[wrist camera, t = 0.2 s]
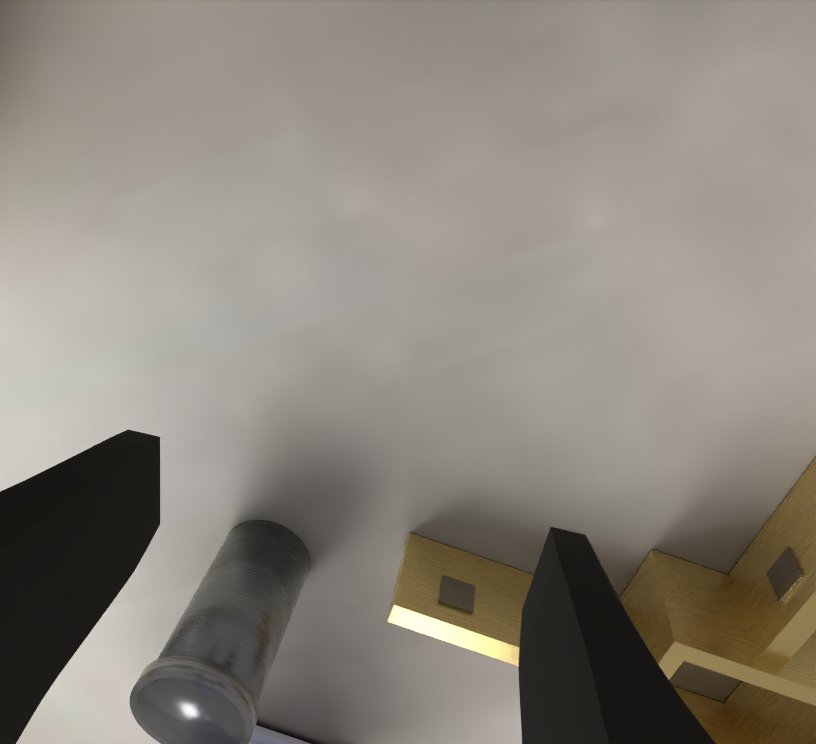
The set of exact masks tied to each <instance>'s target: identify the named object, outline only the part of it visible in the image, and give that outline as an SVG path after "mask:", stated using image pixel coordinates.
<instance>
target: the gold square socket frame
mask: <svg viewBox="0 0 816 744" xmlns="http://www.w3.org/2000/svg"><path fill="white" fill-rule="evenodd" d="M533 577H534V575H532V574H529V573H526V572H523V571H520V570H517V569H514V568H512V567H509V566H506V565H503V564H500V563H497V562H494V561H491V560H488V559H485V558H482V557H479V556H476V555H473V554H471V553H468V552H465V551H462V550H459V549H456V548H453V547H450V546H447V545H444V544H441V543H438V542H435V541H432V540H430V539H427V538H424V537H421V536H418V535H415V534H412V533H410V534H409V536H408V539H407V541H406V544H405V546H404V549H403V553H402V558H401V562H400V567H399V571H398V576H397V580H396V585H395V589H394V594H393V598H392V603H391V607H390V612H389V616H388V621H387V622H390V623H393V624H396V625H399V626H402V627H405V628H408V629H411V630H414V631H417V632H420V633H423V634H426V635H429V636H432V637H435V638H437V639H440V640H443V641H446V642H449V643H452V644H455V645H458V646H461V647H464V648H467V649H470V650H473V651H476V652H479V653H482V654H485V655H488V656H490V657H493V658H496V659H499V660H502V661H505V662H508V663H511V664H514V665H517V666H519V664H518V663H519V646H520V631H521V618H522V608H523V605H524V603H525V600H526V597H527V594H528V591H529V588H530V585H531V582H532V580H533ZM620 601H621V603H622V605H623V607H624V608H625V610H626V612H627V614H628V615H629V617H630V619H631V620H632V622H633V624H634V625H635V627H636V629H637V631H638V632H639V634H640V636H641V637H642V639H643V641H644V642H645V644H646V646H647V647H648V649H649V650H650V652H651V654H652V655H653V657H654V658H655V660H656V662H657V663H658V665H659V666H660V668H661V669H662V671H663V672H664V674H665V675H666V677H667V678H668V680H670V678H671V677H672V676H673V674H674V673H675V672H676V670H677V669H678V668H679V667H680V665H681V664H682V663H683V661H686V662H689V663H692V664H694V665H697V666H700V667H703V668H706V669H709V670H712V671H715V672H718V673H721V674H724V675H727V676H730V677H733V678H736V679H738V680H741V681H742V682H741V684H740V685H739V686H738V687H737V688H736V689H735V691H734V692H733V693H732V694H731V695H730V697H729V698H728V699H727V700H726V701H725V702H724V703H722V702H719V701H716V700H713V699H710V698H707V697H704V696H701V695H698V694H695V693H692V692H689V691H686V690H683V689H681V688H678V687H675V686H673V687H674V689H675V690H676V692H677V693H678V694H679V696H680V697H681V699H682V700H683V701H684V703H685V704H686V706H687V707H688V708H689V709H690V711H691V712H692V713H693V715H694V716H695V717H696V719H697V720H698V721H699V722H700V724H701V725H702V726H703V728H704V729H705V730H706V732H707V733H708V734H709V735H710V737H711V738H712V739H713V741H714V742H715V743H716V744H816V458H815V459H814V460H813V462H812V463H811V464H810V466H809V467H808V468H807V470H806V471H805V472H804V474H803V475H802V476H801V478H800V479H799V480H798V482H797V483H796V484H795V486H794V487H793V488H792V490H791V491H790V492H789V494H788V495H787V496H786V498H785V499H784V501H783V502H782V503H781V505H780V506H779V507H778V509H777V510H776V511H775V513H774V514H773V515H772V517H771V518H770V519H769V521H768V522H767V523H766V525H765V526H764V527H763V529H762V530H761V531H760V533H759V534H758V535H757V537H756V538H755V539H754V541H753V542H752V543H751V545H750V546H749V547H748V549H747V550H746V552H745V553H744V554H743V556H742V557H741V558H740V560H739V561H738V562H737V564H736V565H735V566H734V568H733V569H732V570H731V572H730V573H729V574H728V575H725V574H723V573H720V572H717V571H714V570H711V569H708V568H705V567H702V566H699V565H696V564H693V563H690V562H687V561H685V560H682V559H679V558H676V557H673V556H670V555H667V554H664V553H661V552H658V551H655V550H651V551H650V553H649V554H648V556H647V557H646V559H645V560H644V562H643V564H642V565H641V567H640V568H639V570H638V571H637V573H636V574H635V576H634V577H633V579H632V580H631V582H630V583H629V585H628V587H627V588H626V590H625V591H624V593H623V594H622V596H621V597H620Z"/></svg>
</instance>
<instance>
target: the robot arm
mask: <svg viewBox="0 0 816 744" xmlns="http://www.w3.org/2000/svg"><path fill="white" fill-rule="evenodd" d="M159 525H160V437H158V436H153V435H149V434H145V433H140V432H136V431H132V430H126V431H124V432H122V433H120V434H117V435H115V436H113V437H111V438H109V439H107V440H105V441H103V442H101V443H99V444H97V445H95V446H93V447H91V448H89V449H87V450H85V451H83V452H81V453H79V454H77V455H75V456H73V457H71V458H69V459H67V460H66V461H63V462H61V463H59V464H57V465H55V466H53V467H51V468H49V469H47V470H45V471H43V472H41V473H39V474H37V475H35V476H33V477H31V478H29V479H27V480H25V481H23V482H21V483H19V484H16V485H14V486H12V487H10V488H7V489H5V490H3V491H1V492H0V744H16V742H17V741H18V739H19V737H20V736H21V734H22V732H23V730H24V729H25V727H26V725H27V724H28V722H29V720H30V719H31V717H32V715H33V714H34V712H35V710H36V709H37V707H38V705H39V704H40V702H41V700H42V699H43V697H44V696H45V694H46V693H47V691H48V690H49V688H50V687H51V685H52V684H53V682H54V681H55V679H56V678H57V677H58V675H59V674H60V672H61V671H62V670H63V668H64V667H65V666H66V664H67V663H68V661H69V660H70V659H71V657H72V656H73V655H74V653H75V652H76V651H77V649H78V648H79V646H80V645H81V644H82V642H83V641H84V640H85V638H86V637H87V636H88V634H89V633H90V632H91V630H92V629H93V627H94V626H95V625H96V623H97V622H98V621H99V619H100V618H101V617H102V615H103V614H104V612H105V611H106V610H107V608H108V607H109V606H110V604H111V603H112V601H113V600H114V599H115V597H116V596H117V595H118V593H119V592H120V590H121V589H122V588H123V586H124V585H125V583H126V582H127V581H128V579H129V578H130V576H131V575H132V574H133V572H134V571H135V569H136V567H137V565H138V563H139V562H140V560H141V558H142V556H143V555H144V553H145V551H146V549H147V547H148V546H149V544H150V542H151V540H152V538H153V536H154V534H155V532H156V530H157V529H158V527H159ZM518 664H519V687H520V708H521V726H522V744H716V743H715V742H714V741H713V739H712V738H711V737H710V735H709V734H708V733H707V732H706V730H705V729H704V728H703V726H702V725H701V724H700V722H699V721H698V720H697V719H696V717H695V716H694V715H693V713H692V712H691V711H690V709H689V708H688V707H687V706H686V704H685V703H684V701H683V700H682V699H681V697H680V696H679V694H678V693H677V692H676V690H675V689H674V687H673V686H672V684H671V683H670V681H669V680H668V678H667V677H666V675H665V674H664V672H663V671H662V669H661V668H660V666H659V665H658V663H657V662H656V660H655V658H654V657H653V655H652V654H651V652H650V650H649V649H648V647H647V646H646V644H645V642H644V641H643V639H642V637H641V636H640V634H639V632H638V631H637V629H636V627H635V625H634V624H633V622H632V620H631V619H630V617H629V615H628V614H627V612H626V610H625V608H624V607H623V605H622V603H621V601H620V599H619V598H618V596H617V594H616V592H615V590H614V588H613V586H612V585H611V583H610V581H609V579H608V577H607V575H606V573H605V571H604V569H603V567H602V566H601V564H600V562H599V560H598V558H597V556H596V554H595V552H594V550H593V548H592V546H591V544H590V542H589V540H588V539H587V537H586V536H585V535H584V534H579V533H575V532H570V531H566V530H562V529H557V528H553V527H551V528H550V531H549V534H548V536H547V539H546V542H545V545H544V548H543V551H542V554H541V557H540V559H539V562H538V565H537V568H536V571H535V574H534V577H533V580H532V582H531V585H530V588H529V591H528V594H527V597H526V600H525V603H524V605H523V608H522V618H521V631H520V646H519V663H518ZM248 744H311V743H308V742H305V741H302V740H299V739H296V738H293V737H290V736H287V735H284V734H281V733H278V732H275V731H272V730H269V729H266V728H263V727H260V726H257V725H256V726H255V728H254V731H253V734H252V736H251V739H250V741H249V743H248Z"/></svg>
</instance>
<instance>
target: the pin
mask: <svg viewBox="0 0 816 744" xmlns="http://www.w3.org/2000/svg"><path fill="white" fill-rule="evenodd" d="M309 567H310V557H309V553H308V551H307V548H306V547H305V545H304V543H303V542H302V541H301V540H300V538H298V537H297V536H296V535H295V534H294V533H293V532H291V531H290V530H288V529H287V528H285V527H283V526H281V525H278V524H276V523H272V522H267V521H249V522H245V523H242V524H240V525H238V526H237V527H235V528H234V529H233V530H232V531H231V532H230V533H229V535H228V537H227V538H226V540H225V542H224V544H223V545H222V547H221V549H220V551H219V552H218V554H217V556H216V558H215V559H214V561H213V563H212V565H211V566H210V568H209V570H208V572H207V574H206V575H205V577H204V579H203V581H202V582H201V584H200V586H199V588H198V589H197V591H196V593H195V595H194V596H193V598H192V600H191V602H190V603H189V605H188V607H187V609H186V610H185V612H184V614H183V616H182V617H181V619H180V621H179V623H178V624H177V626H176V628H175V630H174V631H173V633H172V635H171V637H170V638H169V640H168V642H167V644H166V645H165V647H164V649H163V651H162V652H161V654H160V656H159V658H158V660H156V661H154V662H152V663H151V664H149V665H148V666H147V667H146V668H145V669H144V671H143V672H142V674H141V676H140V678H139V679H138V681H137V683H136V684H135V686H134V688H133V690H132V692H131V695H130V707H131V710H132V713H133V715H134V717H135V719H136V721H137V722H138V724H139V725H140V726H141V727H142V728H143V730H145V731H146V732H147V733H148V734H149V735H150V736H151V737H152V738H154V739H155V740H157V741H158V742H160V743H161V744H248V743H249V741H250V739H251V736H252V734H253V731H254V728H255V726H256V723H257V720H258V716H259V707H258V703H257V702H258V700H259V697H260V695H261V692H262V689H263V687H264V684H265V682H266V679H267V677H268V674H269V671H270V669H271V666H272V664H273V661H274V658H275V656H276V653H277V651H278V648H279V646H280V643H281V640H282V638H283V635H284V633H285V630H286V627H287V625H288V622H289V620H290V617H291V615H292V612H293V609H294V607H295V604H296V602H297V599H298V597H299V594H300V591H301V589H302V586H303V584H304V581H305V578H306V576H307V573H308V571H309Z"/></svg>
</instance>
